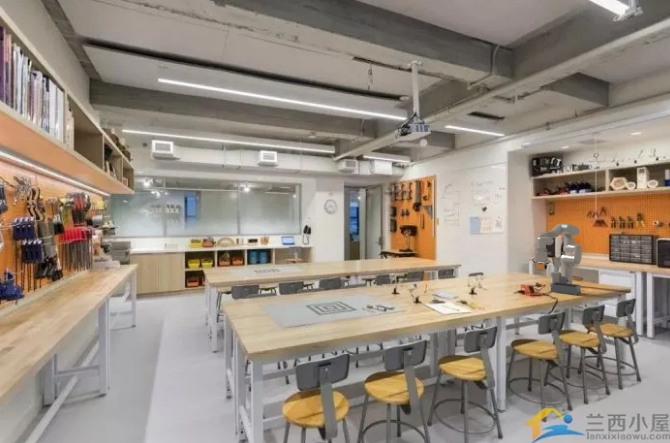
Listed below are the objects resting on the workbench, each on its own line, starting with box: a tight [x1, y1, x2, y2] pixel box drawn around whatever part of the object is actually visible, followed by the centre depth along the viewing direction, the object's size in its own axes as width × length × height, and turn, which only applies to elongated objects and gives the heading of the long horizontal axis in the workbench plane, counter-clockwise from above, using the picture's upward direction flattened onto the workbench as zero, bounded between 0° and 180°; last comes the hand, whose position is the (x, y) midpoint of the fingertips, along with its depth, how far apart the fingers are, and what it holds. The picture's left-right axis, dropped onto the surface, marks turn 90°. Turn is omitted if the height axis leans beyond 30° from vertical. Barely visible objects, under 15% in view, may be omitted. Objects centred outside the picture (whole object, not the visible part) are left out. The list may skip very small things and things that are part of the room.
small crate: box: [535, 262, 547, 272], centre depth 335 cm, size 10×7×6 cm
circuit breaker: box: [549, 271, 568, 288], centre depth 340 cm, size 8×14×15 cm, turn 64°
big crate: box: [550, 282, 582, 297], centre depth 319 cm, size 18×20×7 cm
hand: (540, 268), depth 335 cm, fingers closed on small crate, 7 cm apart
